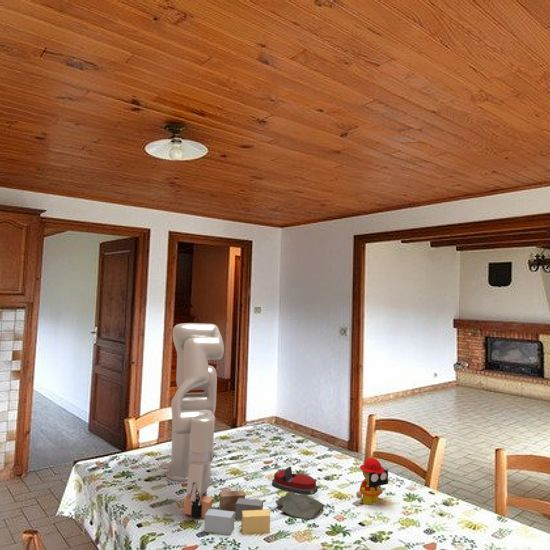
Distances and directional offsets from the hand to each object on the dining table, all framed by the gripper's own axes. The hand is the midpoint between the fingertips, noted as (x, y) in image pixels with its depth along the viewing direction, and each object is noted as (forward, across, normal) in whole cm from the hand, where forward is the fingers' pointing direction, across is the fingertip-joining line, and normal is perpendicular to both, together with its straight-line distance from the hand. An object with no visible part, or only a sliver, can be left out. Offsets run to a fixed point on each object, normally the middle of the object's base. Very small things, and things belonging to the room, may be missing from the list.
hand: (198, 513), depth 142 cm
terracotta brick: (0, 0, -1) cm, 1 cm away
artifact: (+1, -12, +31) cm, 33 cm away
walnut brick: (+1, -7, +9) cm, 11 cm away
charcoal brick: (+1, -2, +16) cm, 16 cm away
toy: (+1, -23, +55) cm, 60 cm away
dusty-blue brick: (+1, +8, +9) cm, 12 cm away
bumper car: (+1, -30, +26) cm, 40 cm away
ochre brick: (+1, +5, +20) cm, 20 cm away
